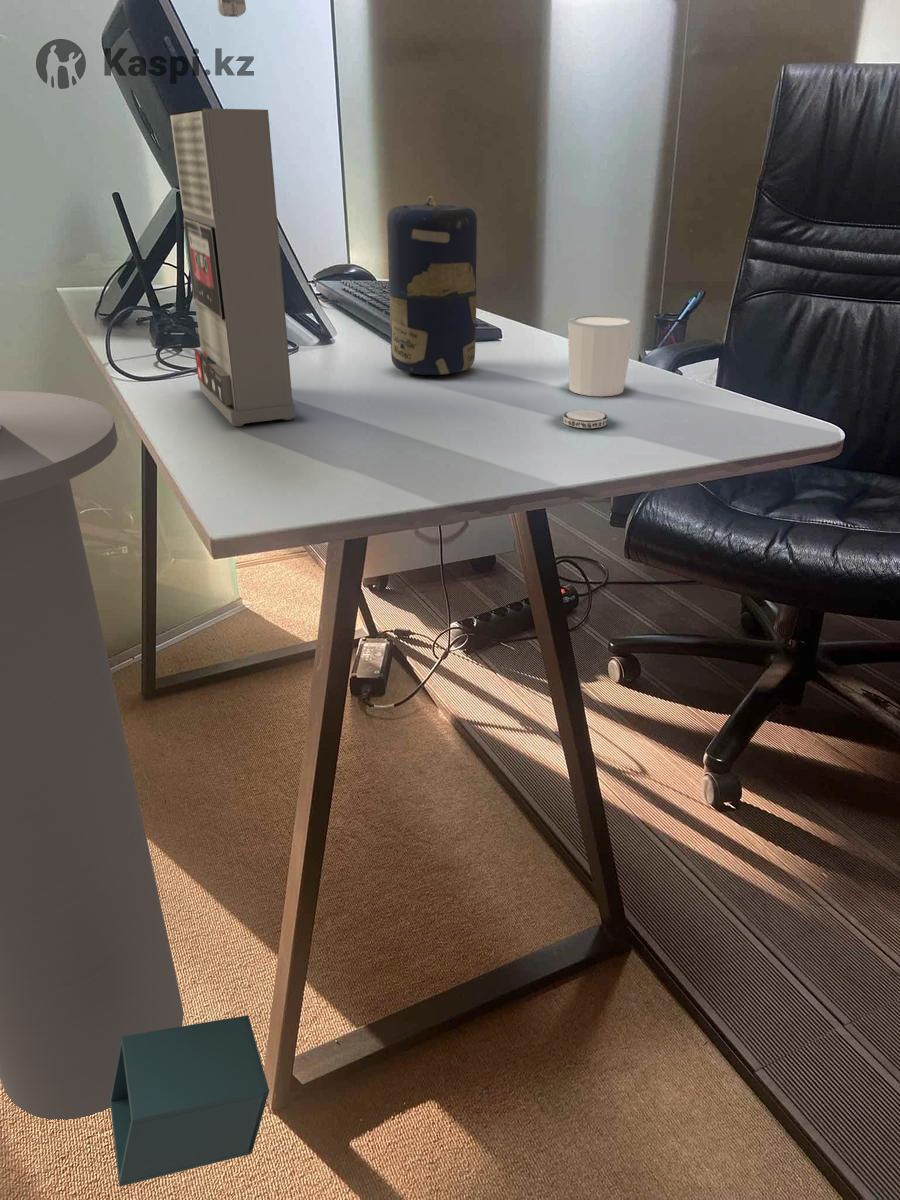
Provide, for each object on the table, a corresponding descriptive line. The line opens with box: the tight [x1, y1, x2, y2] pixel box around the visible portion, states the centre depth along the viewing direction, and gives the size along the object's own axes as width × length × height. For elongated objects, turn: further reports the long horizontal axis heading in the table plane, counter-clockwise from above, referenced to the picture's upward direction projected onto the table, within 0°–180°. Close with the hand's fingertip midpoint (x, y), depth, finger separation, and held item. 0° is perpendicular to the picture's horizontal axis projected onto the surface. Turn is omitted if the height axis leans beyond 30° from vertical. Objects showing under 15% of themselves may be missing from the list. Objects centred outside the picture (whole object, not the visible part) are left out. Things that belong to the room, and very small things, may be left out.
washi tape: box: [562, 409, 608, 429], centre depth 79 cm, size 4×4×1 cm
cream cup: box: [567, 315, 637, 397], centre depth 88 cm, size 7×7×7 cm
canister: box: [386, 195, 478, 376], centre depth 93 cm, size 10×10×18 cm
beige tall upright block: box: [169, 107, 296, 427], centre depth 78 cm, size 14×6×25 cm, turn 26°
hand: (247, 7), depth 61 cm, fingers open, 8 cm apart
